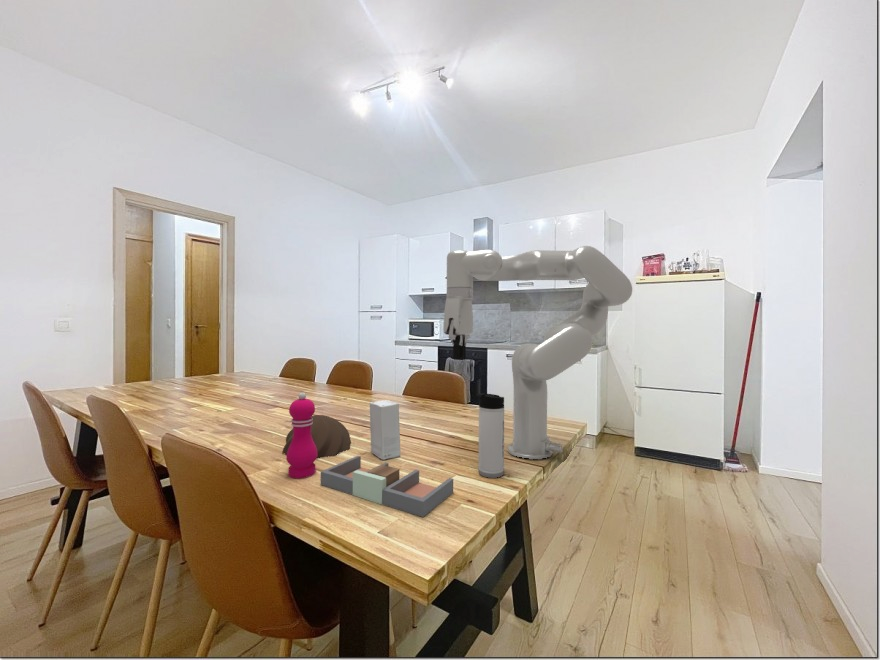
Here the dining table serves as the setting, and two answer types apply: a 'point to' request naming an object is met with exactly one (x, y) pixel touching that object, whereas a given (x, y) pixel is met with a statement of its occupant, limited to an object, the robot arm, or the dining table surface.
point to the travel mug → (491, 435)
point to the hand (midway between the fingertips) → (459, 359)
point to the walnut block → (386, 473)
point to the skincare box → (385, 429)
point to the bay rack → (373, 487)
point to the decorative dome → (325, 436)
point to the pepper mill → (301, 439)
